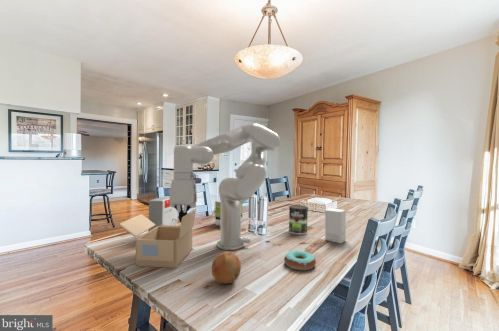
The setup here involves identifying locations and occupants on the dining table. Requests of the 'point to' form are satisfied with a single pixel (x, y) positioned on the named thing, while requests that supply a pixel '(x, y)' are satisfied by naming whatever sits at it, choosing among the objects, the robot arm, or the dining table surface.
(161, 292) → the dining table surface
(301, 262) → the donut
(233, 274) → the onion
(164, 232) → the carton
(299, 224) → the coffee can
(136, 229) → the flap
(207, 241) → the dining table surface
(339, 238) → the skincare box
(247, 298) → the dining table surface
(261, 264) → the dining table surface
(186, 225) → the flap
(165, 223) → the hard drive box
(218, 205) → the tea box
